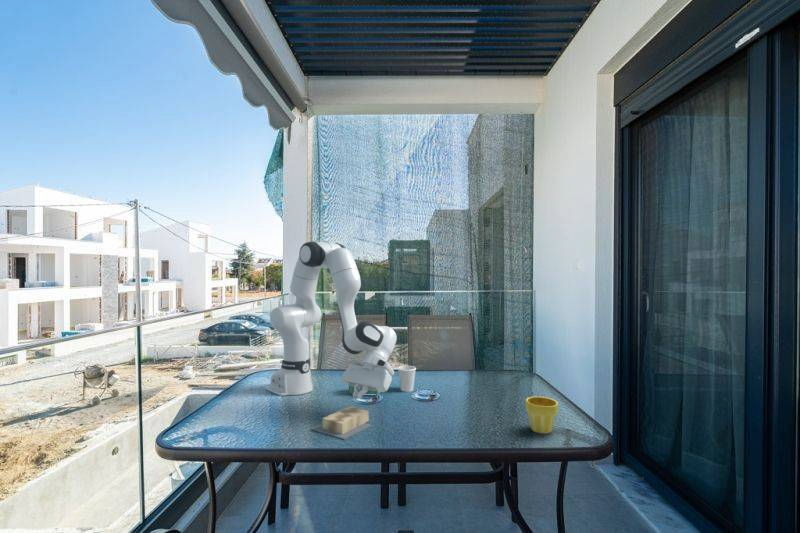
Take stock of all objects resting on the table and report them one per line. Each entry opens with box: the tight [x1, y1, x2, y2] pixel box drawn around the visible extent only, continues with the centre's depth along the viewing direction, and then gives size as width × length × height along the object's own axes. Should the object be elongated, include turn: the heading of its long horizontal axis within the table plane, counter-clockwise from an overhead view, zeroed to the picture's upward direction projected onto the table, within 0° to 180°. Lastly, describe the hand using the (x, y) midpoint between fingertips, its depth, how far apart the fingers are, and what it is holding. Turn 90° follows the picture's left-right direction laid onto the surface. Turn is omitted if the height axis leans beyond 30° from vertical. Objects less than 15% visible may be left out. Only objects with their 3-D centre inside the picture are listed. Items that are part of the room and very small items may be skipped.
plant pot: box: [525, 396, 559, 435], centre depth 139 cm, size 10×10×10 cm
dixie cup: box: [397, 365, 417, 393], centre depth 185 cm, size 8×8×10 cm
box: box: [348, 385, 382, 396], centre depth 181 cm, size 7×14×8 cm, turn 76°
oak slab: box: [322, 406, 370, 434], centre depth 144 cm, size 9×4×14 cm
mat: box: [311, 422, 372, 441], centre depth 142 cm, size 15×14×1 cm
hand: (356, 397), depth 148 cm, fingers closed
